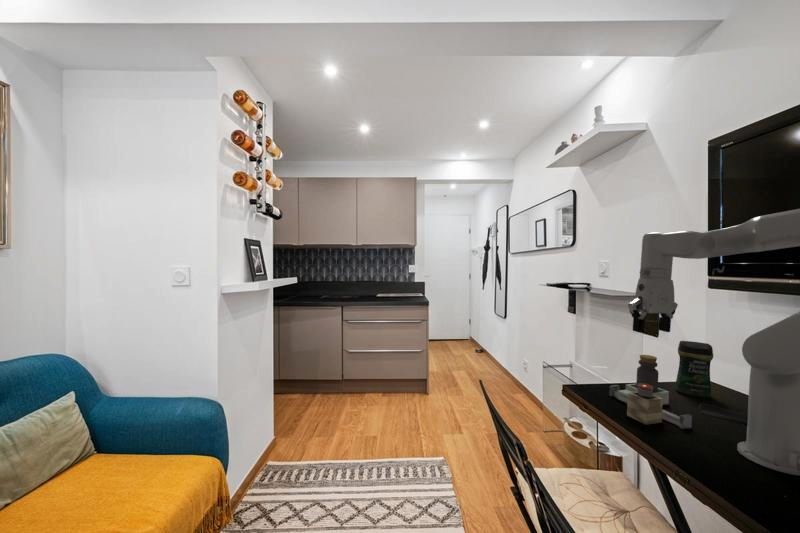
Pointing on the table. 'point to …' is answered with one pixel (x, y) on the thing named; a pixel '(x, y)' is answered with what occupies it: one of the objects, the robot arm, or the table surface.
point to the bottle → (647, 372)
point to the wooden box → (644, 408)
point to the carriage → (632, 388)
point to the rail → (681, 421)
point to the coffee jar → (694, 369)
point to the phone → (723, 413)
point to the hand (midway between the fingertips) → (651, 331)
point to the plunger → (645, 391)
